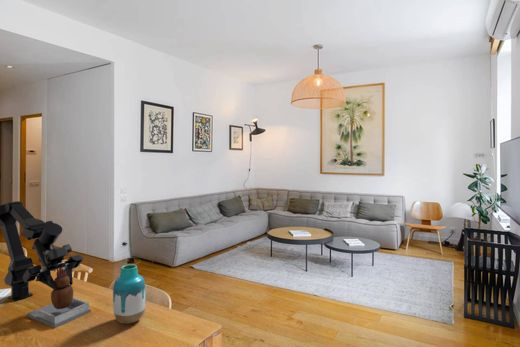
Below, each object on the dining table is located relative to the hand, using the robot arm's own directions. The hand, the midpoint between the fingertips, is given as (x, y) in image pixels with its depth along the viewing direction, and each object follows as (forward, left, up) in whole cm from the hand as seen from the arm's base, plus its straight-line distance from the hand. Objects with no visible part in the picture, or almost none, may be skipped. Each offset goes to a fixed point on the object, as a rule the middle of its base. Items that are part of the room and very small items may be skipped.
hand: (64, 287), depth 117 cm
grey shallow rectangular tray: (-4, 0, -11) cm, 11 cm away
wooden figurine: (-1, 0, -8) cm, 8 cm away
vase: (+23, +9, -11) cm, 27 cm away
